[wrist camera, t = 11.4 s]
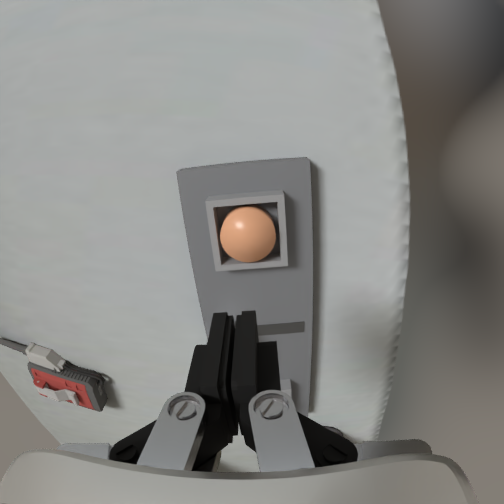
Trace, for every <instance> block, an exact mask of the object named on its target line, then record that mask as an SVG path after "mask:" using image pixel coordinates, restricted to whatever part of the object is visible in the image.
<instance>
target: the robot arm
mask: <svg viewBox="0 0 504 504" xmlns="http://www.w3.org/2000/svg"><path fill="white" fill-rule="evenodd" d="M238 422H239V426H240V430H241V434H242V435H244V439H245V444H246V445H247V446H248V447H250V448H251V449H252V450H254V451H255V452H256V453H257V459H258V464H259V469H260V472H245V473H226V472H217V468H218V465H219V461H220V458H221V450H222V449H223V448H224V447H226V446H227V445H228V443H232V440H233V436H234V435H238ZM0 504H479V502H478V499H477V496H476V494H475V492H474V490H473V487H472V485H471V483H470V481H469V479H468V478H467V476H466V474H465V473H464V471H463V470H462V469H461V467H460V466H459V465H458V464H457V463H456V462H454V461H453V460H452V459H450V458H447V457H444V456H440V455H434V454H432V450H431V447H430V446H429V445H428V444H427V443H426V442H425V441H422V440H419V439H409V440H393V441H363V443H362V444H353V443H352V442H350V441H349V440H348V439H346V438H344V437H342V436H340V435H338V434H336V433H334V432H333V431H331V430H329V429H327V428H325V427H323V426H322V425H320V424H318V423H316V422H315V421H313V420H311V419H309V418H308V417H306V416H304V415H303V414H301V413H299V412H297V411H296V408H295V405H294V402H293V400H292V398H291V397H290V396H289V395H288V394H287V393H285V392H282V391H281V385H280V374H279V362H278V351H277V341H269V342H259V338H258V328H257V319H256V311H255V310H252V311H242V314H241V315H237V317H236V328H235V325H234V318H233V315H230V316H228V313H227V312H220V313H213V317H212V322H211V327H210V332H209V337H208V342H207V345H196V346H195V349H194V353H193V358H192V362H191V366H190V370H189V374H188V379H187V383H186V387H185V392H182V393H177V394H175V395H173V396H171V397H170V398H169V399H168V400H167V401H166V402H165V404H164V406H163V408H162V410H161V412H160V414H159V417H158V419H157V420H155V421H154V422H152V423H150V424H149V425H147V426H145V427H143V428H142V429H140V430H138V431H136V432H135V433H133V434H131V435H129V436H128V437H126V438H124V439H122V440H120V441H119V442H117V443H116V444H115V445H113V446H111V445H110V444H109V443H66V444H62V445H60V446H59V447H58V448H57V449H37V450H30V451H26V452H23V453H21V454H20V455H18V456H17V457H16V458H15V459H14V461H13V462H12V463H11V465H10V466H9V468H8V470H7V472H6V473H5V475H4V477H3V479H2V481H1V483H0Z"/></svg>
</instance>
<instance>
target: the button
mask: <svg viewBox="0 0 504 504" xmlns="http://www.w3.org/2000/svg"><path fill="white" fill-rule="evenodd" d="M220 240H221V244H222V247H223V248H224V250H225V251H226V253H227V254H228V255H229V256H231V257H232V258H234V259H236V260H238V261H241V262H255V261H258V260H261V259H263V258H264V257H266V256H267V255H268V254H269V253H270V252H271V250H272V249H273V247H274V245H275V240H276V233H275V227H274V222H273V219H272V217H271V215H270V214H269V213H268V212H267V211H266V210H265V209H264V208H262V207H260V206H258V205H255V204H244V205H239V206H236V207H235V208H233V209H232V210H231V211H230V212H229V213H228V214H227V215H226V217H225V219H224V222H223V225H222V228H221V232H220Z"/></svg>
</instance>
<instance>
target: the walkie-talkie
mask: <svg viewBox="0 0 504 504" xmlns="http://www.w3.org/2000/svg"><path fill="white" fill-rule="evenodd" d="M0 344H2V345H4V346H7V347H9V348H12V349H14V350H17V351H20V352H22V353H23V354H25V355H27V356H28V359H29V361H30V362H29V363H28V370H29V372H30V374H31V376H32V378H33V380H34V381H33V382H34V384H35V386H36V388H37V390H38V392H39V393H40V394H41V395H43V396H46V397H49V398H51V399H53V400H56V401H59V402H60V401H67V402H70V403H73V404H75V405H76V406H78V405H79V406H82V407H86V408H89V409H92V410H96V411H99V412H100V411H102V410H103V408H104V406H105V403H106V401H107V396H106V393H105V390H104V387H103V384H104V382H105V379H104V378H103V377H102V376H101V375H99V374H98V373H96V372H95V371H94V370H93V371H92V370H88V369H85V368H81V367H78V366H74V365H71V364H68V363H66V361H65V359H63V358H62V357H61V356H59V355H58V354H57V353H56V352H55V351H53V350H51V349H48V348H44V347H41V346H38V345H36V344H34V343H30V344H29V346H25V345H24V346H23V345H20V344H17V343H14V342H12V341H9V340H4V339H1V338H0Z"/></svg>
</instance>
